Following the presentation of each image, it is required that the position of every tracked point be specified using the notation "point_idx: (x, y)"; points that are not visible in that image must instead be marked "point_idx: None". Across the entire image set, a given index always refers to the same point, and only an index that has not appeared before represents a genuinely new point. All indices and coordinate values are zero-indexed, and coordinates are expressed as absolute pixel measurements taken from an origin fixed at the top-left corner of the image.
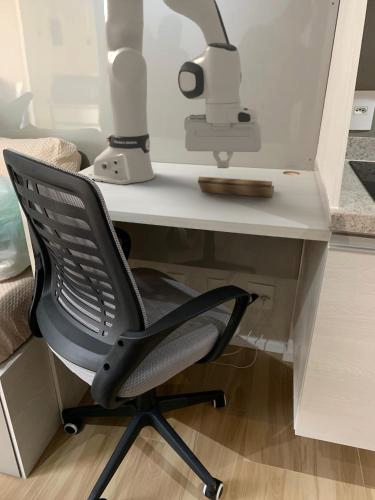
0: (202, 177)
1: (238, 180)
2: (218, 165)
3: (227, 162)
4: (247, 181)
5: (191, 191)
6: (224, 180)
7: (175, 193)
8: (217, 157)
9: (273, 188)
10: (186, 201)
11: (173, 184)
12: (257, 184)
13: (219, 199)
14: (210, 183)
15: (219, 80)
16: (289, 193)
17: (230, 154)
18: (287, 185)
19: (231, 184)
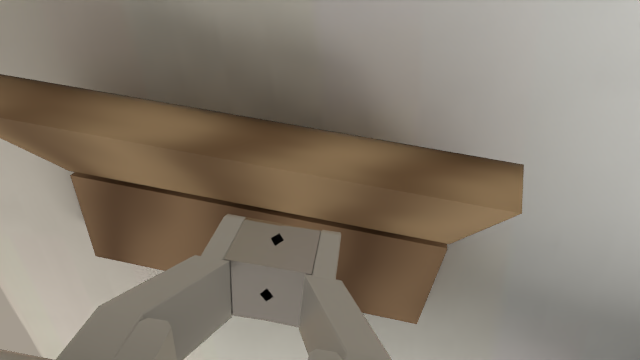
0: (485, 202)
1: (177, 138)
2: (325, 244)
3: (207, 252)
4: (110, 124)
5: (512, 245)
6: (291, 151)
7: (624, 214)
8: (326, 333)
9: (88, 227)
10: (577, 62)
11: (601, 342)
12: (42, 92)
13: (348, 120)
14: (409, 151)
15: None
16: (49, 219)
17: (104, 328)
18: (92, 303)
19: (239, 117)
